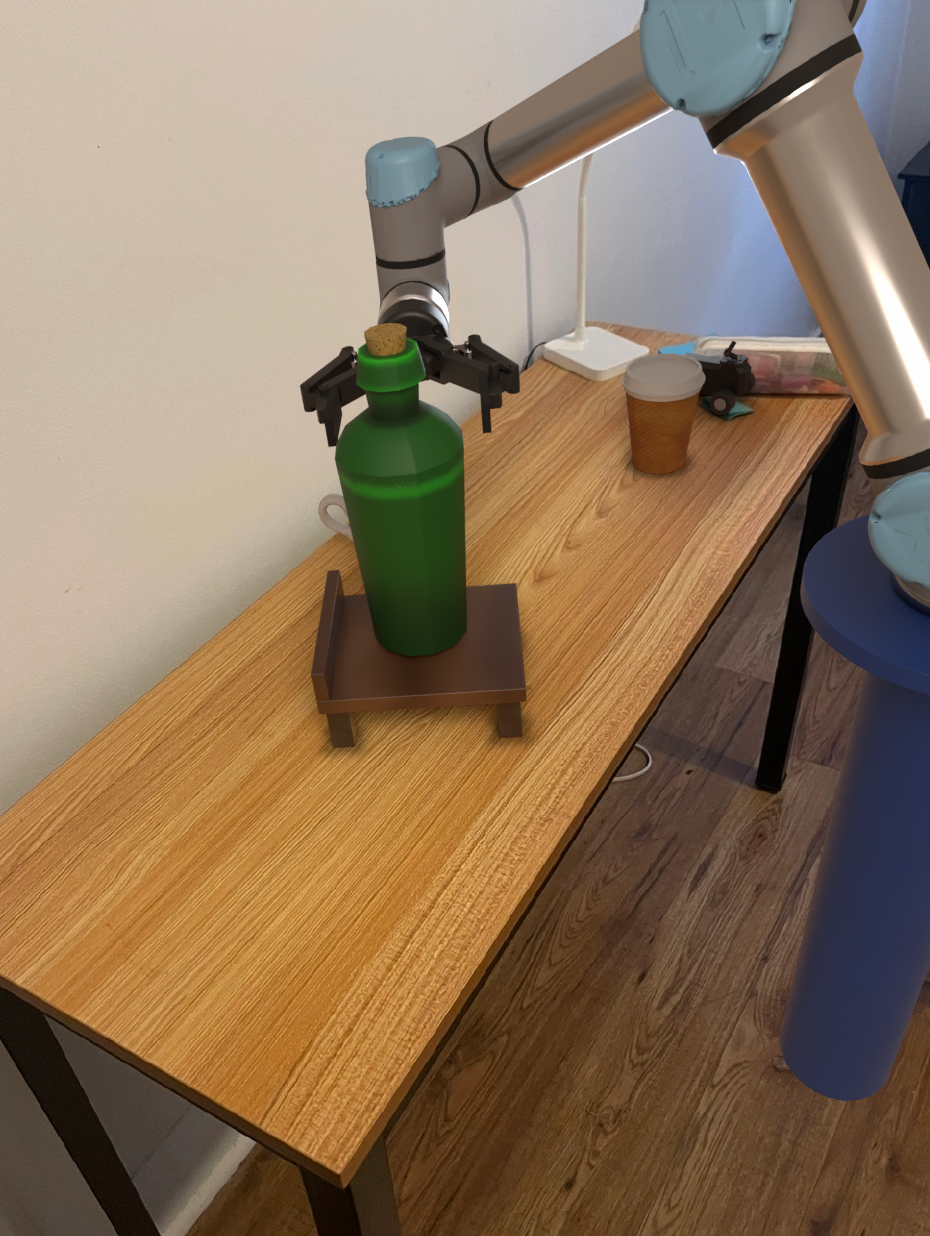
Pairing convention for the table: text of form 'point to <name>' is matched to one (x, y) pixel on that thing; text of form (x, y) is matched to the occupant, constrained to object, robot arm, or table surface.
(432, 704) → the shelf
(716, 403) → the toy vehicle
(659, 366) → the disposable coffee cup
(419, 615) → the bottle
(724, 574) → the table surface
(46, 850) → the table surface
